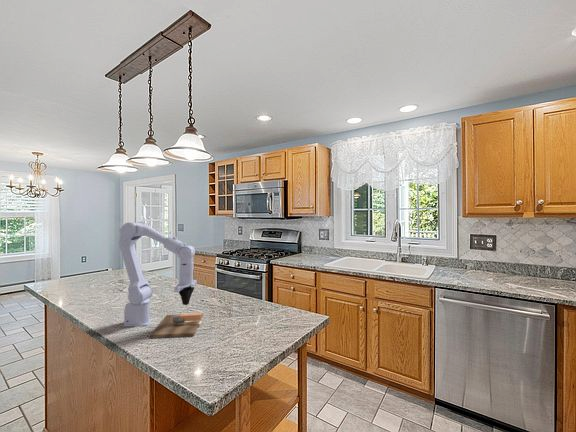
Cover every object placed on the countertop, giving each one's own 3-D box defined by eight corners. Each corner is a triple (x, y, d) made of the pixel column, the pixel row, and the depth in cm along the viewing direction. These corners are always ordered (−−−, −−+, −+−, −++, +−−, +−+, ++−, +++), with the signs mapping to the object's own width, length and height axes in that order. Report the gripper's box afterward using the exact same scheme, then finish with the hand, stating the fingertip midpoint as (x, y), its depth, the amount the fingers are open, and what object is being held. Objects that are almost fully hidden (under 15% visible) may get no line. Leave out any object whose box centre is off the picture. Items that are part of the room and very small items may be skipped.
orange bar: (171, 323, 117) (171, 317, 117) (174, 318, 122) (174, 313, 122) (200, 321, 119) (200, 315, 119) (201, 317, 124) (201, 311, 124)
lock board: (150, 338, 108) (150, 332, 108) (166, 317, 129) (166, 313, 129) (196, 335, 110) (196, 330, 110) (204, 316, 132) (204, 311, 132)
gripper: (185, 277, 115) (184, 310, 115) (203, 270, 129) (202, 300, 129) (169, 276, 116) (169, 309, 116) (189, 269, 131) (188, 299, 131)
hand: (185, 304), depth 123 cm, fingers closed
